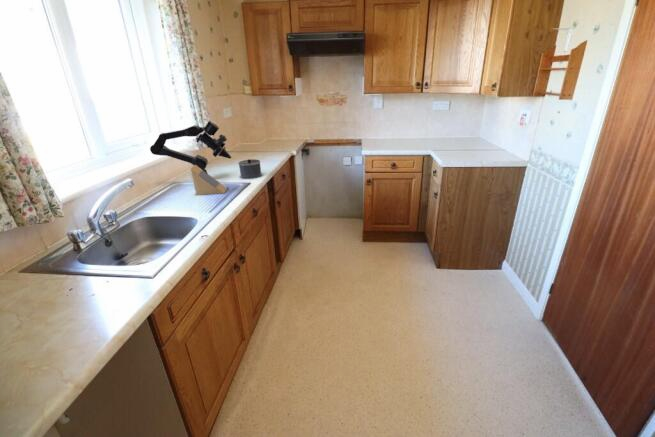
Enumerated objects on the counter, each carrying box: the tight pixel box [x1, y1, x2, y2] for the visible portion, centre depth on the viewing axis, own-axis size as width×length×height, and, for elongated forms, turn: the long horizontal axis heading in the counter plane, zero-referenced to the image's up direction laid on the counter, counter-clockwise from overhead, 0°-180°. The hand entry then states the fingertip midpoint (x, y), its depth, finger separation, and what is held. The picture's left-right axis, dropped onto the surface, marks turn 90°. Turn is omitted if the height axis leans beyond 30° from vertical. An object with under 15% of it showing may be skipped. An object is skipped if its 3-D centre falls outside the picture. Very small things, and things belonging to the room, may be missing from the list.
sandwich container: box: [190, 165, 228, 196], centre depth 177 cm, size 9×15×15 cm, turn 94°
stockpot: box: [238, 158, 262, 180], centre depth 205 cm, size 14×14×11 cm
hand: (230, 157), depth 201 cm, fingers closed
